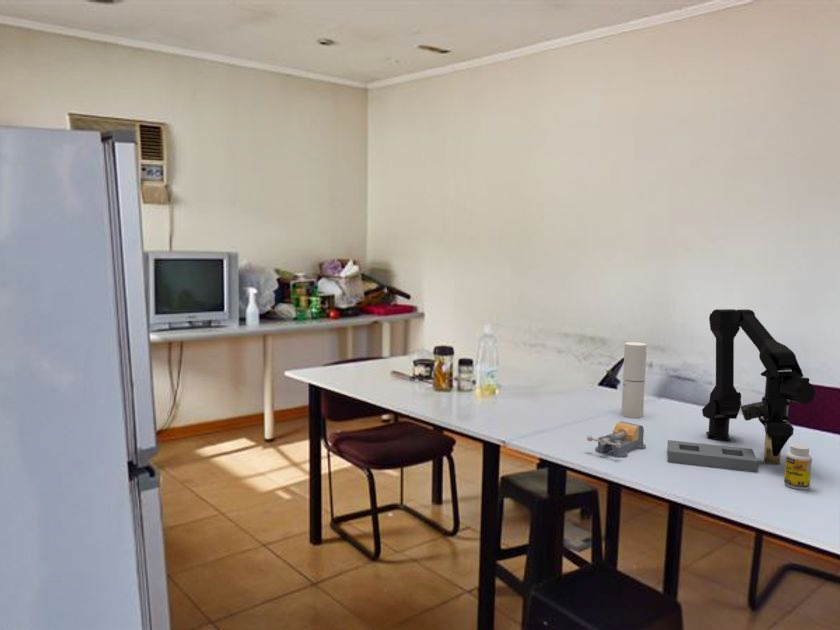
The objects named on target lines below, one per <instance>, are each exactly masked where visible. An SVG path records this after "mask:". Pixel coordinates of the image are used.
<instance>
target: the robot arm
mask: <svg viewBox="0 0 840 630" xmlns="http://www.w3.org/2000/svg"><path fill="white" fill-rule="evenodd" d="M708 321H709V329H710V331H711V333H712V335H713V336H714V338H715V385H714V387H713V388H712V390H711V392H710V394H709V400H708V403H707V404H706V405H705V406H704V407H703V408H701V411H702V416H703V418H706V419H708V431H705V432H706V437H707V439H709V440H710V439H711V440H718V441H719V440H721V441H729V442H730V441H731V440H732V439H731V435H730V433H729V432H730V422H731V421H730V420H732V419H734V420H736V419H738V418H737V417H738V415H739V412H740V410H741V412H742V416H743V418H744V421H751V420H753V419H756V418H758V421H759V422H760V423H761V424H762V425H763V426H764V432H765V434H766V433H767V434H768V435H769V436H770V437H771V445H772V453H773V456H778V455H779V453H780V451H781V452H782V451H783V448H784V447H785V446H786V444H787V443H788V441H789V439H790V438H791V437H792V436H793V435H794V426H793V425H792V424H791V423H790V421H789V415H788V410H789V409H788V407H790V403H791V402H794V403H797V404H802V405H808V404H811V402H813V400H814V399H815V396H816V390H815V387H814V385H813V384H812V383H810V378H809V377H804V373H803V370H802V368H801V366H800V364H799V362H798V359H797V356H796V354H795V352H794V351H793V350H791V349H790V348H789V347H788V346H786V345H785V344H783V343H781V342H779V341H777V340H776V339H775V338H774V337H773V336H772V334H771V333H770V332H769V331H768V330H767V328H766V327H765V326H764V325H763V323H761V322H760V320H759V319H758V317H757V316H756V314H755V312H754V310H752V309H748V308H746V309H745V308H744V309H734V308H732V309H730V308H729V309H725V308H724V309H721V308H720V309H719V308H718V309H717V308H716V309H714V310H713V311H712V312H711V313H710V314H709V319H708ZM740 328H741V329H740ZM740 330H743V333H745V335H747V337H748V339H749V340H750V341H751V343H752V344H753V345H754V346H755V347H756V349H757V350H758V352H759V353H758V355H759V360H760V362H761V364H762V366H763V367H764V368H765V370H764V371H762V372H760V376H761V377H764V378H765V388H764V395H763V396H762V398H761V401H758V402H753V403H748V404H744V405H742V393H741V392H738V391H737V389H736V388H735V386H734V379H735V378H734V377H735V375H734V374H735V373H734V372H735V371H734V370H735V369H734V367H735V365H734V364H735V363H734V362H735V361H734V360H735V359H734V357H735V356H734V355H735V353H734V352H735V338H736V336H737V335H738V333H739V331H740ZM790 401H791V402H790Z"/></svg>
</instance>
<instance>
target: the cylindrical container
mask: <svg viewBox="0 0 840 630" xmlns="http://www.w3.org/2000/svg"><path fill="white" fill-rule="evenodd" d="M647 345H648V344H647V343H644V342H639V341H638V342H637V341H634V342H633V341H632V342H631V341H627V342H625V343H624V352H623V353H624V354H623V356H624V357H623V371H622V372H623V373H622V374H623V375H622V393H621V394H622V395H621V396H622V397H621V411H620V413H621V416H622V417H625V418H629V419H640V418H643V417H644V408H645V407H644V404H645V388H646V386H645V385H646V367H647V366H646V364H647V351H648V349H647V347H648V346H647Z"/></svg>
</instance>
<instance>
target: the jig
mask: <svg viewBox="0 0 840 630" xmlns="http://www.w3.org/2000/svg"><path fill="white" fill-rule="evenodd" d="M666 450H667V451H666V452H667V462H668V463H674V464H683V465H691V466H692V465H693V466H701V467H709V468H715V469H716V468H718V469H724V470H725V469H727V470H734V471H735V470H736V471H741V472H742V471H745V472H753V473H757V472H758V463H759V462H758V459H757V457H756V454H755V453H754V450H753V449H752V448H749V447H748V448H747V447H738V446H737V447H736V446H728V445H720V444H719V445H718V444H709V443H701V442H700V443H699V442H698V443H697V442H690V441H681V440H679V441H678V440H673V439H672V440H670V439H668V440H667V449H666Z"/></svg>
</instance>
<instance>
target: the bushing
mask: <svg viewBox="0 0 840 630" xmlns="http://www.w3.org/2000/svg"><path fill="white" fill-rule="evenodd" d="M781 453H782V450H781V451H780V453H779V455H778V456H773V453H772V445H771V437H770V436H769V435H768V434H767V433H765V438H764V451H763V462H764V463H765V464H768V465H774V466H776V465H781V455H782V454H781Z"/></svg>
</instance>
